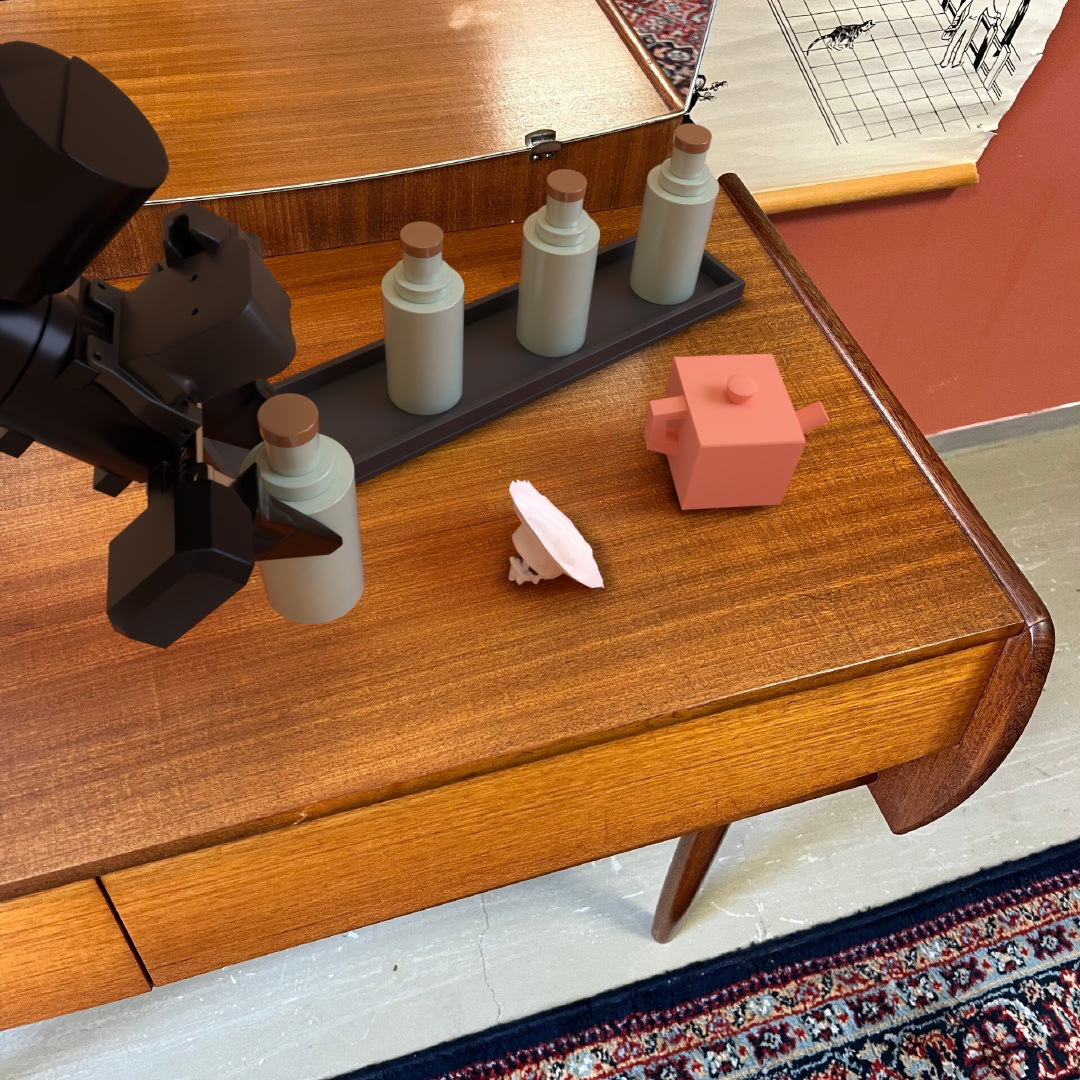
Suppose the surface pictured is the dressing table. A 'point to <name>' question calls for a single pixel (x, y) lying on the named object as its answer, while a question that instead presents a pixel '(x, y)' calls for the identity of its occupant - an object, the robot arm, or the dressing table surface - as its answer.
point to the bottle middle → (557, 269)
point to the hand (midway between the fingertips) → (331, 501)
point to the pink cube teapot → (729, 430)
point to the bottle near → (423, 324)
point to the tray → (489, 366)
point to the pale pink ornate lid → (548, 541)
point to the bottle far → (675, 220)
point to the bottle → (309, 511)
